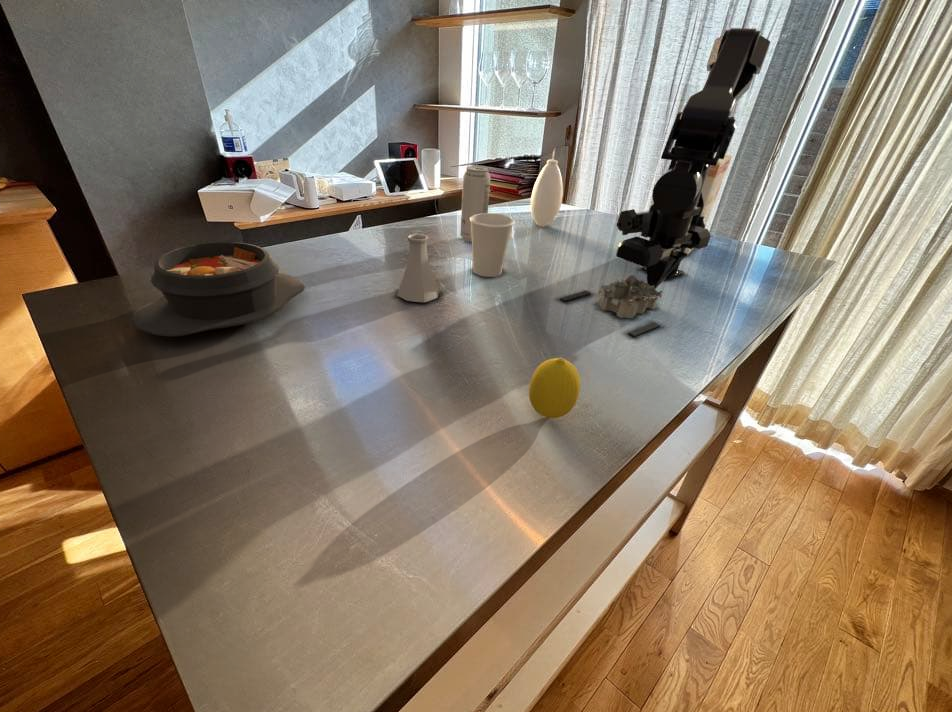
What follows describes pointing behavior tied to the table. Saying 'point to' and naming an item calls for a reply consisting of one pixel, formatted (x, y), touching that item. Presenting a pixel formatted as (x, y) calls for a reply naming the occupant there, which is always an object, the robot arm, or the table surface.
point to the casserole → (214, 289)
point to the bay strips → (632, 333)
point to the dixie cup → (490, 242)
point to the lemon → (554, 388)
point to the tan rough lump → (628, 297)
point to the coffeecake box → (712, 188)
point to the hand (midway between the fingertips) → (650, 290)
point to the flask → (418, 273)
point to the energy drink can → (474, 197)
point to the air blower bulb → (547, 194)
